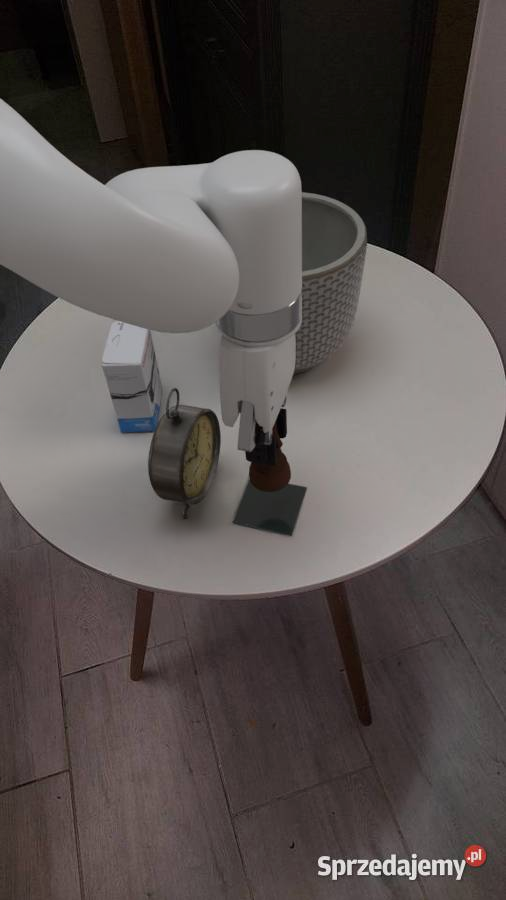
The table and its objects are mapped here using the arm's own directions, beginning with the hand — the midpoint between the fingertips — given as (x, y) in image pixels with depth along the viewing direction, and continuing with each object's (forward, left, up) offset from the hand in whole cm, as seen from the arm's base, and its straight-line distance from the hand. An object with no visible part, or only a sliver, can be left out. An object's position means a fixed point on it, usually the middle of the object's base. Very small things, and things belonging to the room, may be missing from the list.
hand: (266, 446), depth 72 cm
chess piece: (0, 0, -5) cm, 5 cm away
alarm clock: (-10, 0, -11) cm, 15 cm away
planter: (-5, +27, -11) cm, 29 cm away
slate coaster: (0, 0, -10) cm, 10 cm away
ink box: (-21, +11, -11) cm, 26 cm away
